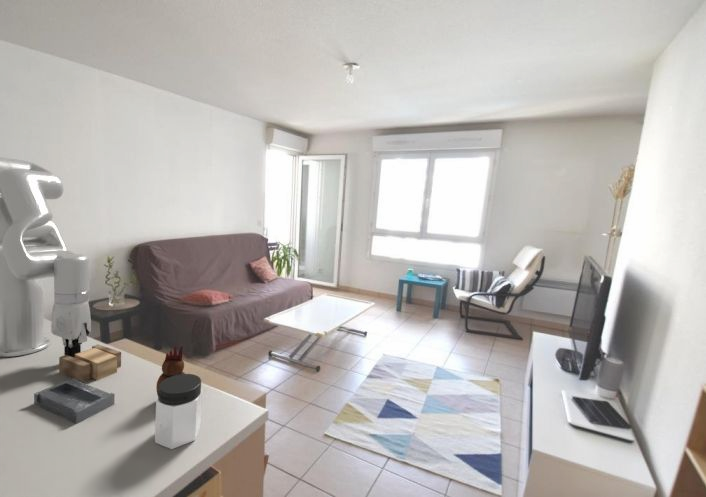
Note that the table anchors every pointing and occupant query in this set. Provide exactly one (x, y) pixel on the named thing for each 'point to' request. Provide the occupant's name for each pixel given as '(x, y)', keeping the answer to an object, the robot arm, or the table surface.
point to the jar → (178, 410)
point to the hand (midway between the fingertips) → (72, 358)
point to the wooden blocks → (82, 364)
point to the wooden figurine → (171, 366)
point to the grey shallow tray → (73, 400)
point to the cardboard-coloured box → (99, 362)
